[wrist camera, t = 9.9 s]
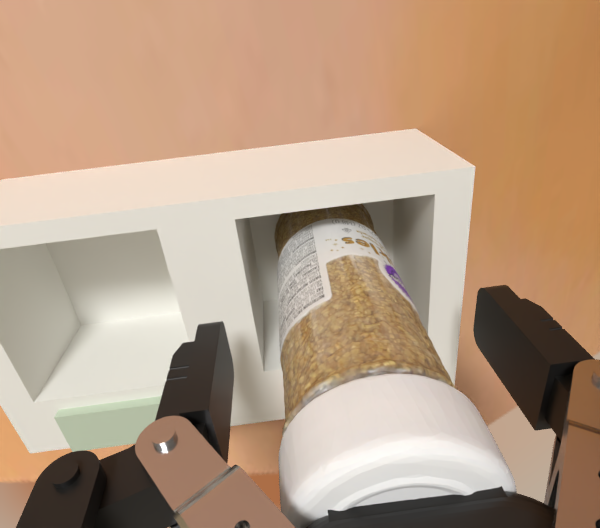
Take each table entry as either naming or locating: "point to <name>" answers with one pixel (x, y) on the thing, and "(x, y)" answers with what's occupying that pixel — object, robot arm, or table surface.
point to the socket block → (199, 272)
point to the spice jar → (365, 380)
